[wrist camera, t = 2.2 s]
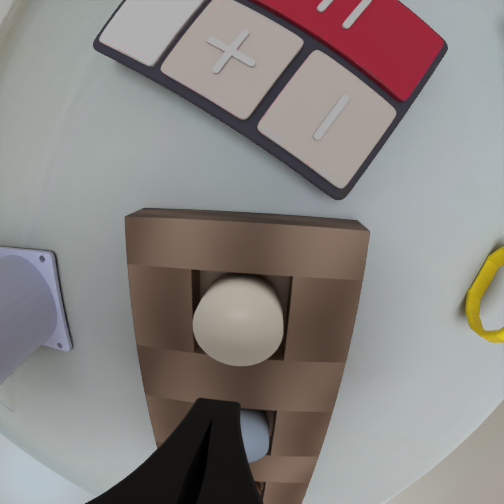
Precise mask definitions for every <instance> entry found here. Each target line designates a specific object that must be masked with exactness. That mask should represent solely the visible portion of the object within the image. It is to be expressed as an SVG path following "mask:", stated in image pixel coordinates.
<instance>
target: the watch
mask: <svg viewBox="0 0 504 504" xmlns="http://www.w3.org/2000/svg"><path fill="white" fill-rule="evenodd" d="M503 264H504V246H503V247H502V248H499V249H498V250H496V251H495V252H493V253H492V254H490V255H489V256H488V257H487V259H486V261H485V263H484V265H483V267H482V268H481V270H480V272H479V274H478V276H477V277H476V279H475V281H474V282H473V284H472V286H471V287H470V289H468V290H467V291H468V292H467V298H466V307H465V310H466V311H465V313H466V316H467V320H468V323H469V326H470V327H471V329H472V330H473V331H475V332H476V333H477V334H478V335H480V336H481V337H483V338H484V339H486V340H488V341H489V342H492V343H501V342H504V327H503V328H501V329H500V330H494V331H485V330H484V329H483V326H482V323H481V320H480V317H479V309H480V299H481V298H482V296H483V294H484V292H485V291H486V289H487V287H488V286H489V284H490V282H491V280H492V279H493V277H494V275H495V273H496V271H497V269H498V268H499V267H500V266H502V265H503Z"/></svg>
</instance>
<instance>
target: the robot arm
mask: <svg viewBox="0 0 504 504" xmlns="http://www.w3.org/2000/svg"><path fill="white" fill-rule="evenodd" d="M43 257H44V259H45V260H44V259H43ZM41 345H43V346H47V347H50V348H54V349H57V350H61V351H65V352H69V351H70V350H71V349H72V344H71V340H70V336H69V332H68V328H67V323H66V319H65V314H64V309H63V304H62V299H61V293H60V288H59V282H58V275H57V269H56V262H55V257H54V254H53V253H52V252H50V251H43V250H33V249H22V248H12V247H2V246H0V385H1V384H2V383H3V382H4V381H5V380H6V379H7V378H8V377H9V376H10V375H11V374H12V373H13V372H14V371H15V370H16V369H17V368H18V367H19V366H20V365H21V364H22V363H23V362H24V361H25V360H26V359H27V358H28V357H29V356H30V355H31V354H32V353H33V352H34V351H35V350H36V349H38V348H39V347H40V346H41ZM240 415H241V404H239V403H238V402H234V401H224V400H216V399H207V398H198V399H196V401H195V402H194V404H193V406H192V407H191V409H190V410H189V411H188V413H187V414H186V416H185V417H184V418H183V420H182V421H181V422H180V424H179V425H178V426H177V427H176V429H175V430H174V431H173V432H172V433H171V434H170V436H169V437H168V438H167V439H166V440H165V441H164V443H163V444H162V445H161V446H160V447H159V448H158V449H157V450H156V451H155V452H154V453H153V454H152V455H151V456H150V457H149V458H148V459H147V460H146V461H145V462H144V463H143V464H141V465H140V466H139V467H138V468H137V469H136V470H135V471H133V472H132V473H131V474H130V475H128V476H127V477H126V478H125V479H123V480H122V481H121V482H119V483H118V484H116V485H115V486H113V487H112V488H111V489H109V490H108V491H106V492H105V493H103V494H101V495H100V496H98V497H96V498H95V499H93V500H91V501H89V502H87V503H85V504H264V503H263V501H262V499H261V496H260V494H259V492H258V489H257V487H256V484H255V481H254V478H253V475H252V472H251V469H250V466H249V463H248V459H247V455H246V451H245V447H244V443H243V438H242V431H241V423H240Z"/></svg>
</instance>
